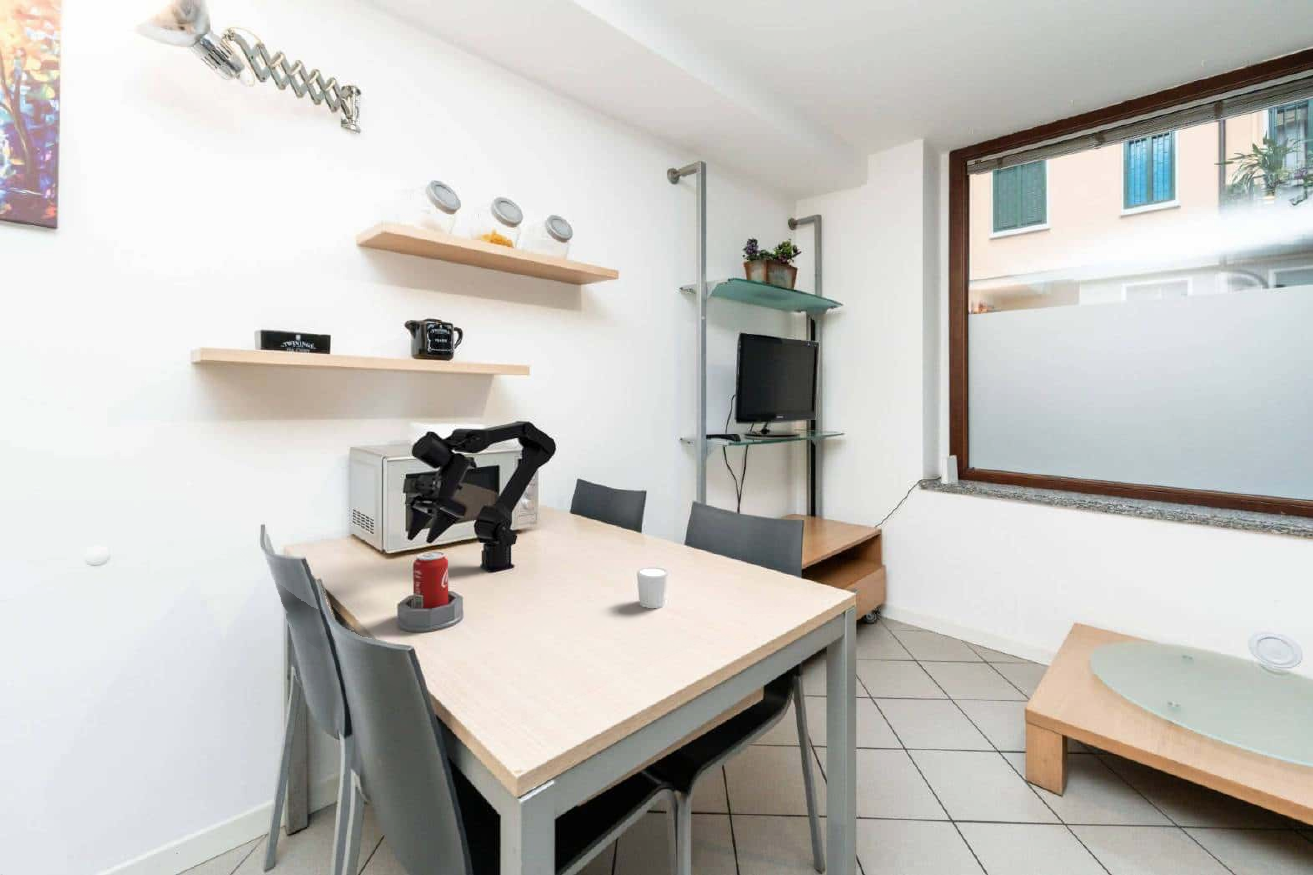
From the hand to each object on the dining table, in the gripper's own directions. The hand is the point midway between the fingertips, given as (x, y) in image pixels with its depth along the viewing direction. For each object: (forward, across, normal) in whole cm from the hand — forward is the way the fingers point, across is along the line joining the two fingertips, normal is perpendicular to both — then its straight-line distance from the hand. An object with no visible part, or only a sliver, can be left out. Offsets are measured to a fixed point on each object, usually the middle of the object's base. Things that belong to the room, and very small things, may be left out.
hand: (418, 541), depth 122 cm
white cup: (-2, +40, +35) cm, 53 cm away
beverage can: (+14, +15, +2) cm, 20 cm away
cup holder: (+14, +15, +2) cm, 21 cm away
